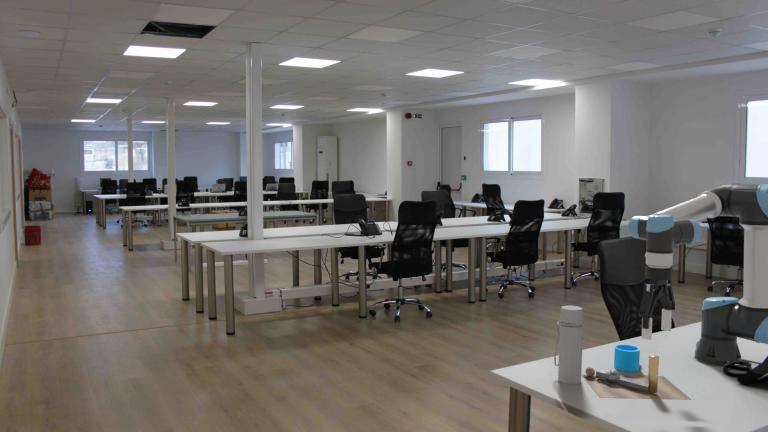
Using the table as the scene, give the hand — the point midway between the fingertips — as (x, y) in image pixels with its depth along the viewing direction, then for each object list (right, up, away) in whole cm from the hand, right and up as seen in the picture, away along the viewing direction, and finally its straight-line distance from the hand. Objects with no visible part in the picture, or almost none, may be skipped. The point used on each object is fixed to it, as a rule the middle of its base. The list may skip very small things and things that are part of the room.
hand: (656, 334), depth 196 cm
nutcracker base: (-5, -19, +6) cm, 20 cm away
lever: (-7, -17, +6) cm, 19 cm away
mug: (+1, -17, +26) cm, 31 cm away
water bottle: (-24, -18, +12) cm, 32 cm away
